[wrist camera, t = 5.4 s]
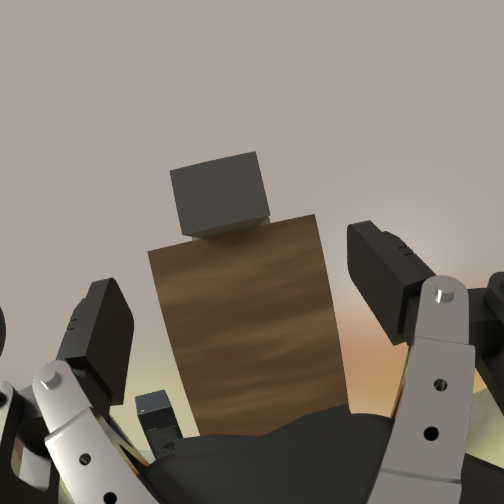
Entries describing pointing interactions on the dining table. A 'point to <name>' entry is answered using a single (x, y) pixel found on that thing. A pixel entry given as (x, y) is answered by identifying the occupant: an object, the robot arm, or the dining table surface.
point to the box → (158, 422)
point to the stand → (252, 326)
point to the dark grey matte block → (220, 196)
